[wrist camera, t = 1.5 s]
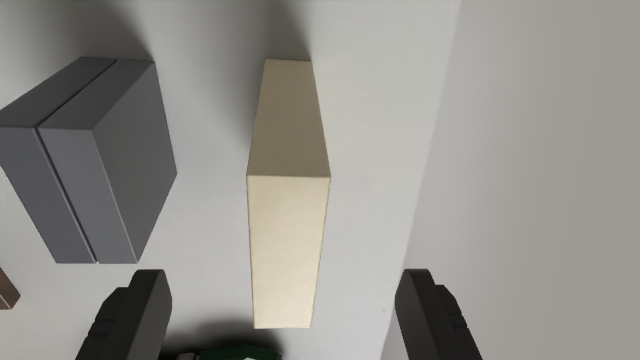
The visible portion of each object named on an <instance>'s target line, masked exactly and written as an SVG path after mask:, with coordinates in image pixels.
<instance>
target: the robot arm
mask: <svg viewBox="0 0 640 360" xmlns="http://www.w3.org/2000/svg"><path fill="white" fill-rule="evenodd" d="M395 310H396V314H397V318H398V321H399V325H400V329H401V332H402V336H403V339H404V343H405V347H406V350H407V354H408V357H409V360H483V359H482V357H481V355H480V353H479V351H478V348H477V346H476V344H475V341H474V339H473V337H472V335H471V333H470V331H469V329H468V328H467V324H466V321H465V319H464V317H463V316H462V314H461V310H460V308H459V306H458V304H457V301H456V299H455V297H454V296H453V295H452V294H451V293H450V292H449V291H448V290H447V288H446V287H445V286H444V285H435V283H434V280H433V278H432V276H431V273H430V272H429V270H427V269H405V270H404V272H403V275H402V277H401V280H400V283H399V286H398V289H397V291H396V295H395ZM171 311H172V296H171V292H170V289H169V285H168V282H167V278H166V275H165V272H164V270H162V269H144V270H137V271H136V272H135V273H134V275H133V277H132V280H131V282H130V284H129V286H128V287H117V288H116V289H115V290H114V292H113V293H112V294H111V295H110V296H109V297H108V298H107V299H106V300H105V301H104V302H103V304H102V306H101V308H100V310H99V312H98V314H97V316H96V318H95V322H94V323H93V324H92V326H91V328H90V330H89V332H88V336H87V337H86V338H85V340H84V342H83V344H82V346H81V348H80V350H79V352H78V354H77V357H76V359H75V360H157V359H158V356H159V352H160V349H161V346H162V342H163V339H164V336H165V332H166V329H167V326H168V322H169V319H170V316H171Z"/></svg>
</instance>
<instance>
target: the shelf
mask: <svg viewBox="0 0 640 360" xmlns="http://www.w3.org/2000/svg"><path fill="white" fill-rule="evenodd" d="M19 298H20V295H19V293H18V292H17V291H16V289H15V288H14V287H13V285H12V284H11V282H10V281H9V280H8V278H7V277H6V276H5V274H4V273H3V272H2V270H1V269H0V310H9V309H12V308H13V307H14V305H15V304H16V302H17V301H18V300H19Z"/></svg>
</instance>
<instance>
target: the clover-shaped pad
mask: <svg viewBox="0 0 640 360" xmlns="http://www.w3.org/2000/svg"><path fill="white" fill-rule="evenodd" d="M157 360H164V359H163V358H160V357H158V359H157ZM177 360H284V359H283V356H282V355H281V354H280V353H278V352H276V351H272V350H268V349H264V348H261V347H257V346H253V345H250V344H238V345H232V346H225V347H219V348H212V349H206V350H202V351H201V352H200V356H198V355H196V354H195V353H183V354H180V355H178V357H177Z"/></svg>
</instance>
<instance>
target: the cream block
mask: <svg viewBox="0 0 640 360" xmlns="http://www.w3.org/2000/svg"><path fill="white" fill-rule="evenodd" d="M246 182H247V202H248V221H249V241H250V261H251V280H252V300H253V320H254V328H255V329H261V328H307V327H311V324H312V317H313V309H314V302H315V294H316V287H317V279H318V272H319V264H320V257H321V249H322V242H323V234H324V227H325V220H326V212H327V205H328V197H329V190H330V182H331V173H330V167H329V161H328V155H327V149H326V143H325V137H324V131H323V125H322V119H321V113H320V107H319V101H318V95H317V89H316V83H315V77H314V71H313V65H312V62H311V61H295V60H280V59H265V64H264V70H263V76H262V82H261V88H260V94H259V100H258V106H257V112H256V118H255V124H254V130H253V136H252V142H251V148H250V154H249V161H248V167H247V173H246Z"/></svg>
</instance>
